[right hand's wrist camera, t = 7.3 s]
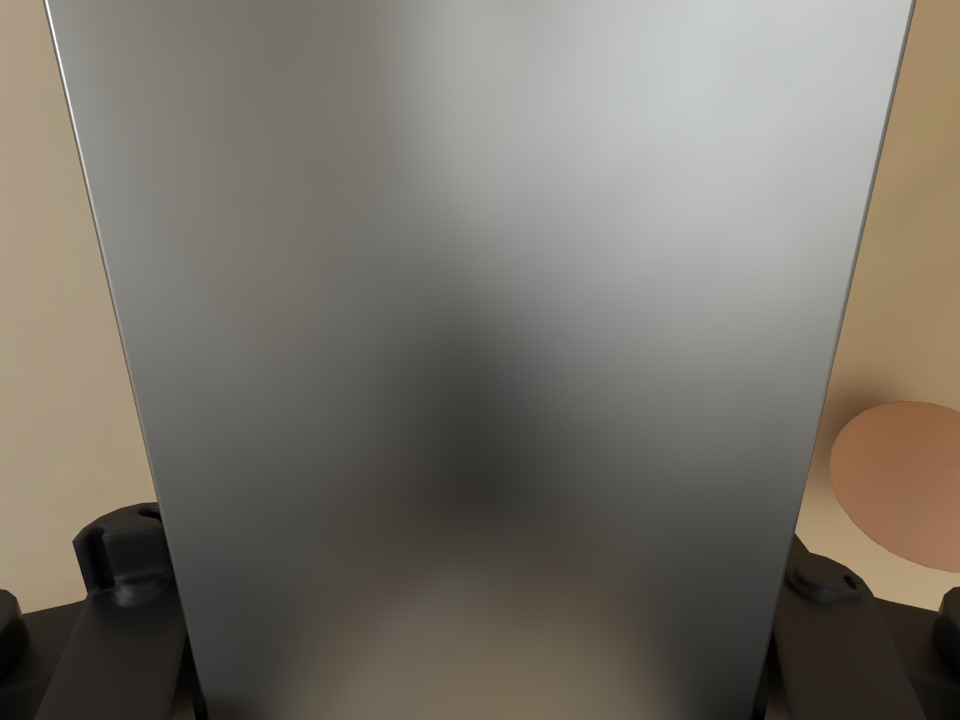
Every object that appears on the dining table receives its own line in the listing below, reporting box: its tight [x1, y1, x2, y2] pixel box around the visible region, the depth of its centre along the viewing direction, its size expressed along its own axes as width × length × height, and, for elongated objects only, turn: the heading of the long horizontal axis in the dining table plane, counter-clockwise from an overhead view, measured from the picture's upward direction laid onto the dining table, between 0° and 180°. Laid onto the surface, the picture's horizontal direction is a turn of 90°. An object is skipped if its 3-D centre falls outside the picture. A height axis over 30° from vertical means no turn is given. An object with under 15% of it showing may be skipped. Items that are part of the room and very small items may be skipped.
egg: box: [829, 401, 960, 573], centre depth 24 cm, size 6×6×8 cm
